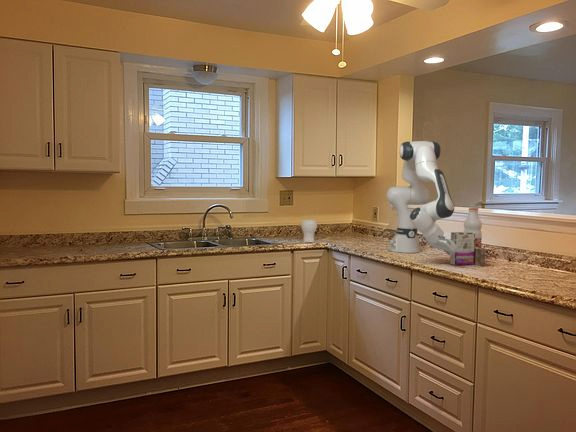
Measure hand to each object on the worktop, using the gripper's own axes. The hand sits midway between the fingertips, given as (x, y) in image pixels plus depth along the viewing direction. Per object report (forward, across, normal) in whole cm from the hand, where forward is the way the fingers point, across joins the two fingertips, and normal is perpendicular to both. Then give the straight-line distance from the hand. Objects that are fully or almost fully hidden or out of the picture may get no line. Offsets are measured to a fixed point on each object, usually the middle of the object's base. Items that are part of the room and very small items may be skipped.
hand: (451, 254), depth 246 cm
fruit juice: (+19, +14, -11) cm, 26 cm away
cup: (-30, +98, +38) cm, 109 cm away
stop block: (+13, +1, -6) cm, 14 cm away
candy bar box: (+8, 0, 0) cm, 8 cm away
